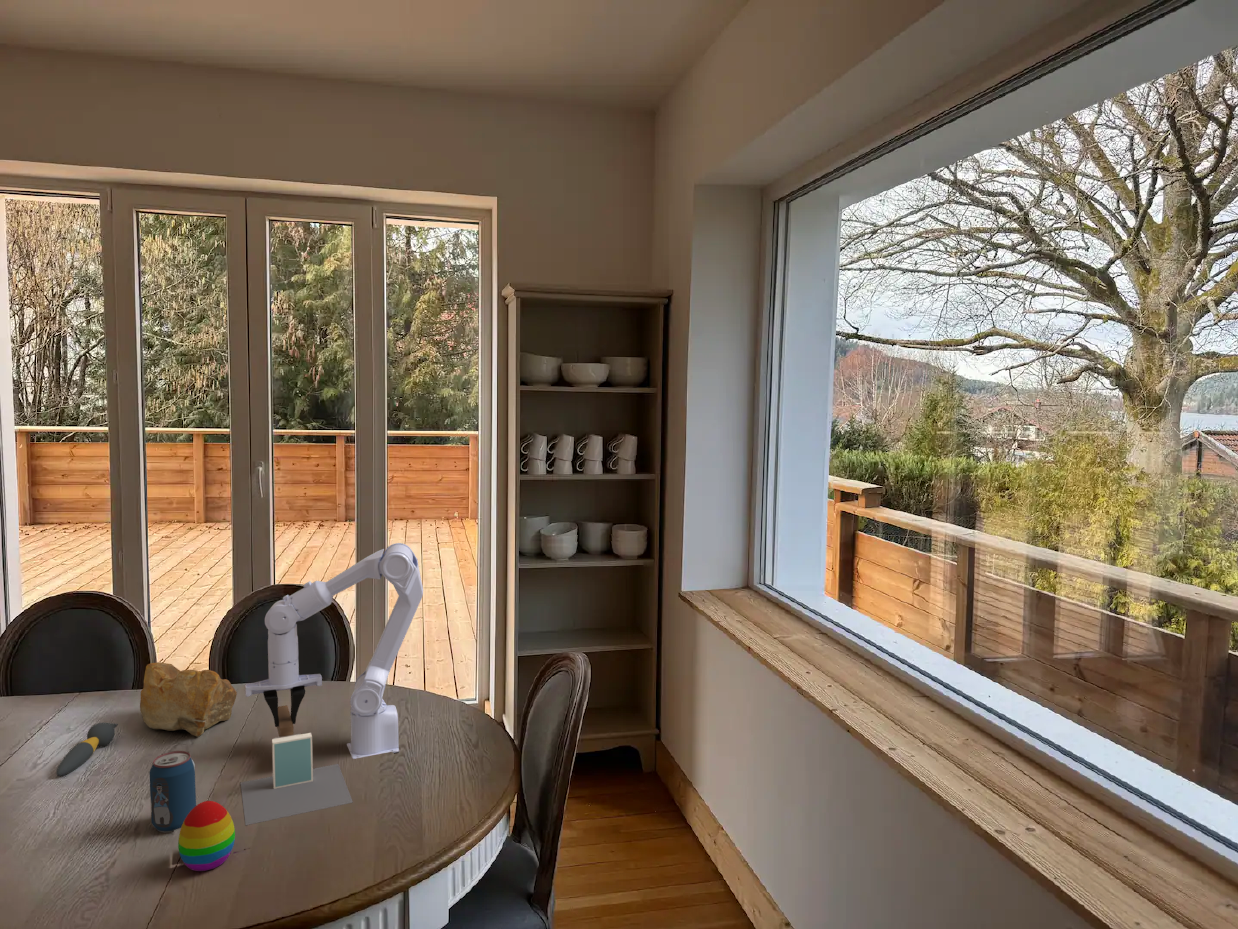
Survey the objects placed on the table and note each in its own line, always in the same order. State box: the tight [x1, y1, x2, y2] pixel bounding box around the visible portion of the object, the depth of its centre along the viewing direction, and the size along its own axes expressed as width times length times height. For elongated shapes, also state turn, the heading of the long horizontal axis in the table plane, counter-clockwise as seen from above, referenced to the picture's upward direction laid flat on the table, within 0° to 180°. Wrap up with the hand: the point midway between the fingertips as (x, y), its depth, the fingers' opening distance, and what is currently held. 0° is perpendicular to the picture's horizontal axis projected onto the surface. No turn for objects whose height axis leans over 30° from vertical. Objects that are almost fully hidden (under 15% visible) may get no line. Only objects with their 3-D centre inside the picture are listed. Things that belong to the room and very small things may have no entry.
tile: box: [271, 732, 314, 789], centre depth 157 cm, size 7×2×9 cm, turn 118°
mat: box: [240, 763, 354, 826], centre depth 154 cm, size 18×17×1 cm
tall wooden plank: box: [273, 704, 301, 739], centre depth 168 cm, size 5×17×3 cm, turn 27°
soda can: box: [148, 750, 197, 834], centre depth 142 cm, size 7×7×12 cm
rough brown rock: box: [139, 661, 238, 737], centre depth 184 cm, size 23×16×15 cm
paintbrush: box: [55, 722, 119, 777], centre depth 168 cm, size 20×5×5 cm, turn 9°
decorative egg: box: [177, 800, 236, 872], centre depth 132 cm, size 8×8×10 cm
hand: (285, 723), depth 169 cm, fingers closed on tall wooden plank, 2 cm apart
